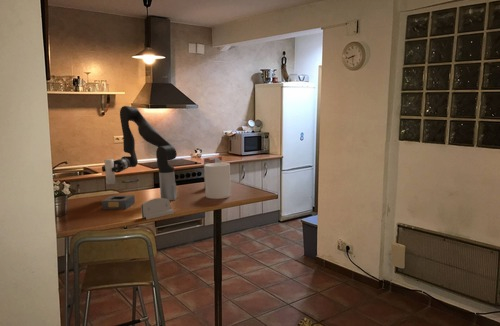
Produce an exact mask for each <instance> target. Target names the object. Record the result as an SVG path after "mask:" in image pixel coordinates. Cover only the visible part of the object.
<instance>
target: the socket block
mask: <svg viewBox="0 0 500 326" xmlns="http://www.w3.org/2000/svg"><path fill="white" fill-rule="evenodd" d="M135 201H136V199H135V195H134V194H132V195H131V194H123V195H121V194H120V195H117V194H116V195H110V196H108V197H106V198H104V199H103V200H101V201H100V202H101V210H128V209H129V208H130V207H132V206H133V205H135V204H136V202H135ZM134 203H135V204H134Z"/></svg>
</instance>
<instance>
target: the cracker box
mask: <svg viewBox="0 0 500 326" xmlns="http://www.w3.org/2000/svg"><path fill="white" fill-rule="evenodd" d="M209 163H223V156H221V155H212V156H209V157H203V176H204V177H203V179H204V181H203V182H205V167H204V165H205V164H209Z"/></svg>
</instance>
